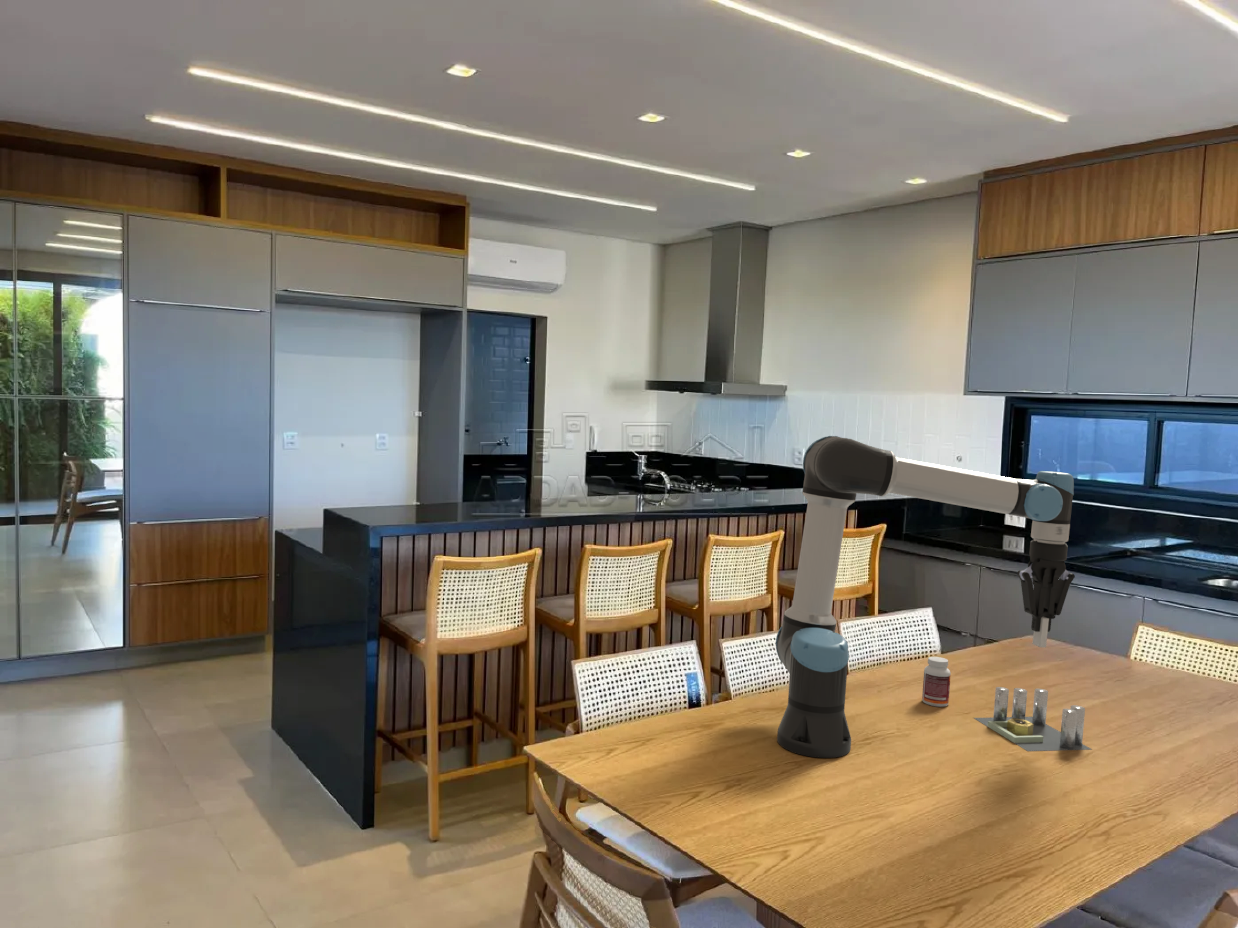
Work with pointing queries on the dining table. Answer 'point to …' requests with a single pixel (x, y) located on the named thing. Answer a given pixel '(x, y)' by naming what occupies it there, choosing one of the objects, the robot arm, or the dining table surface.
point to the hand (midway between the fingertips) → (1039, 645)
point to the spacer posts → (1041, 714)
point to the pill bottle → (936, 682)
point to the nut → (1020, 727)
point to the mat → (1049, 735)
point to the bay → (999, 729)
